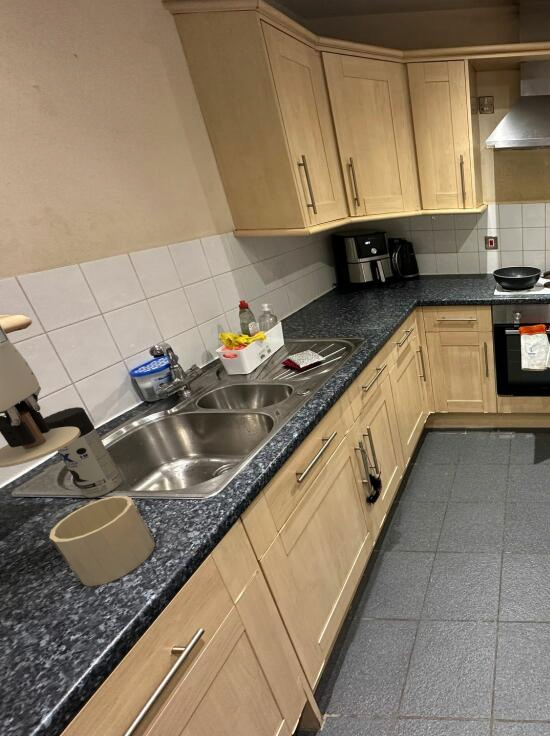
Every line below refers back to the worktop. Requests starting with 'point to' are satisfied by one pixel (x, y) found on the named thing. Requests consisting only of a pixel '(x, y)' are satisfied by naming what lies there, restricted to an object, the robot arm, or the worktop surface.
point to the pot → (103, 540)
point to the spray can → (86, 454)
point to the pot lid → (37, 443)
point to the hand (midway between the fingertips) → (31, 438)
